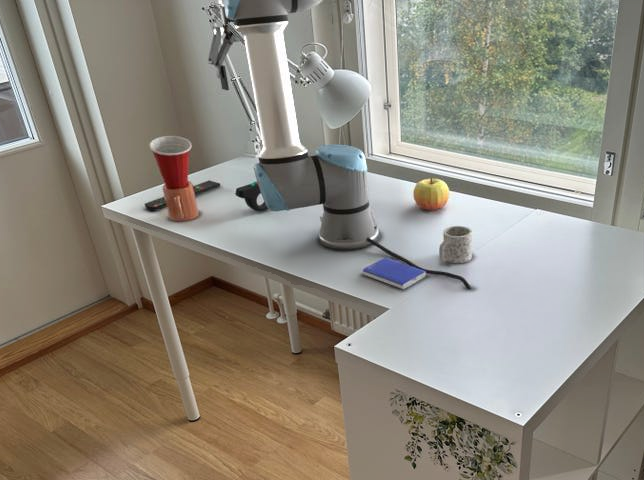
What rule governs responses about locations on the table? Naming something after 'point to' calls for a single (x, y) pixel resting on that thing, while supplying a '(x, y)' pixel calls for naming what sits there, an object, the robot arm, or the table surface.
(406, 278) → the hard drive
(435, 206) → the apple
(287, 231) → the table surface
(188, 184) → the mug
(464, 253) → the mug
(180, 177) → the plastic cup
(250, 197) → the controller
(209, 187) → the remote control
